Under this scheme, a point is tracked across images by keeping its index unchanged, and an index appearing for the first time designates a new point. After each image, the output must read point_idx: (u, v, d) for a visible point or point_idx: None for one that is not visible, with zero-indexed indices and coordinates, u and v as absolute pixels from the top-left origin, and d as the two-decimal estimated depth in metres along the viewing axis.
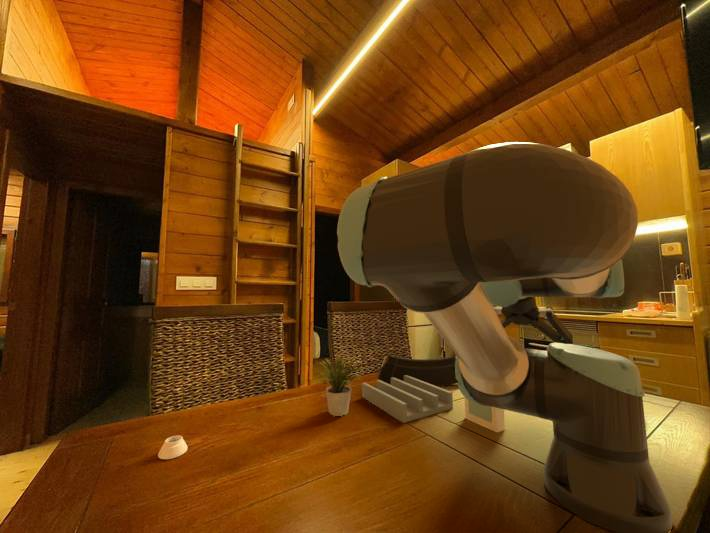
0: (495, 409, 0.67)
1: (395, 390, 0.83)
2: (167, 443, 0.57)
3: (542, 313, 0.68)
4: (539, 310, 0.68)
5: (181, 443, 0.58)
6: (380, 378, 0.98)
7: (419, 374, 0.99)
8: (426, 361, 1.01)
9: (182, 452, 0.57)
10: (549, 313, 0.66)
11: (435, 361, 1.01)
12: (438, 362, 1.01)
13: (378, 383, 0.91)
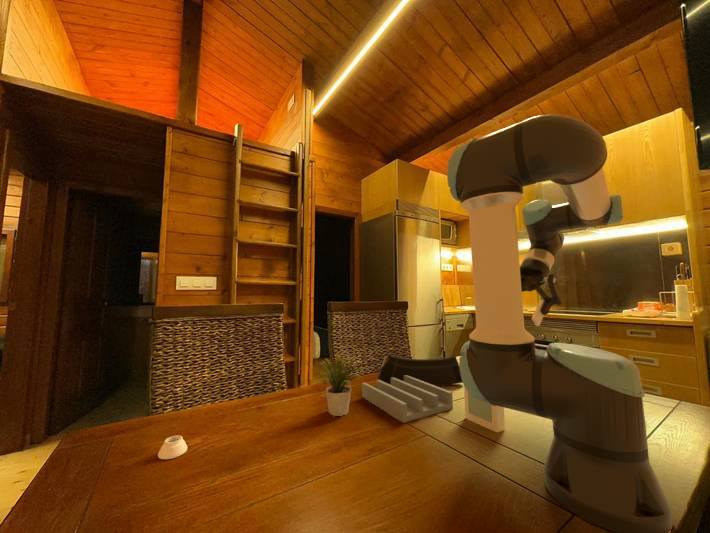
0: (495, 409, 0.67)
1: (395, 390, 0.83)
2: (167, 443, 0.57)
3: (546, 279, 0.79)
4: None
5: (181, 443, 0.58)
6: (380, 378, 0.98)
7: (419, 374, 0.99)
8: (426, 361, 1.01)
9: (182, 452, 0.57)
10: (551, 274, 0.77)
11: (435, 361, 1.01)
12: (438, 362, 1.01)
13: (378, 383, 0.91)
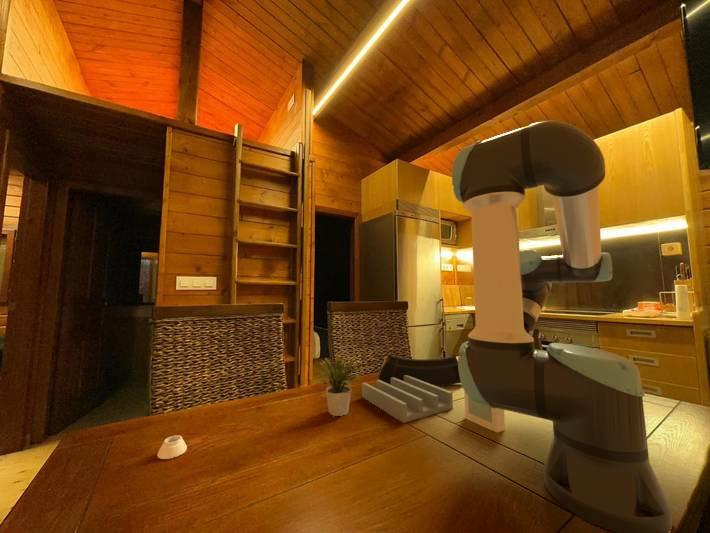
0: (495, 409, 0.67)
1: (395, 390, 0.83)
2: (166, 443, 0.57)
3: (531, 333, 0.77)
4: None
5: (180, 443, 0.58)
6: (381, 378, 0.98)
7: (419, 374, 0.99)
8: (427, 361, 1.01)
9: (181, 452, 0.57)
10: (536, 329, 0.76)
11: (436, 361, 1.01)
12: (439, 362, 1.01)
13: (378, 383, 0.91)
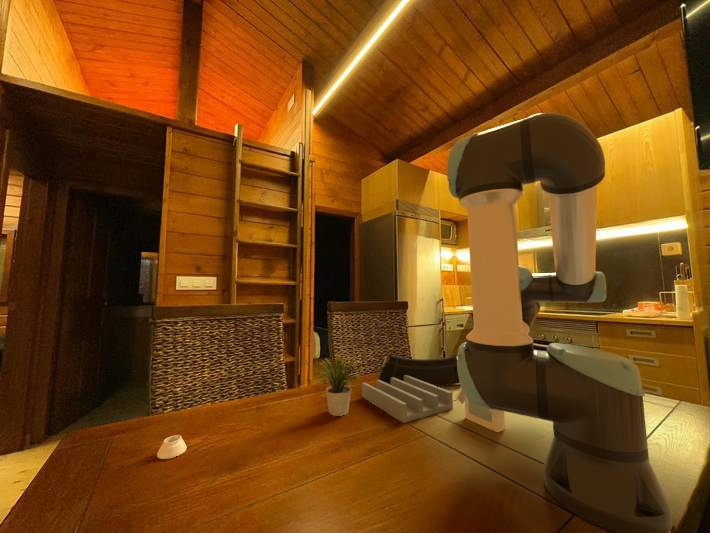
0: None
1: (395, 390, 0.83)
2: (166, 443, 0.57)
3: None
4: None
5: (180, 443, 0.58)
6: (381, 378, 0.99)
7: (420, 374, 0.99)
8: (427, 361, 1.01)
9: (181, 452, 0.57)
10: None
11: (436, 361, 1.01)
12: (439, 362, 1.01)
13: (378, 383, 0.91)
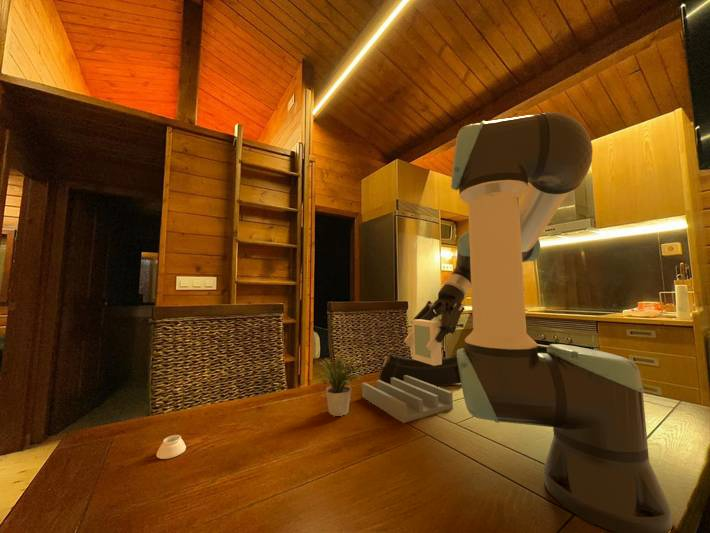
0: None
1: (395, 390, 0.83)
2: (165, 443, 0.57)
3: (455, 305, 0.85)
4: None
5: (179, 443, 0.58)
6: (381, 378, 0.99)
7: (420, 374, 0.99)
8: None
9: (180, 452, 0.57)
10: (459, 302, 0.83)
11: None
12: None
13: (378, 383, 0.91)
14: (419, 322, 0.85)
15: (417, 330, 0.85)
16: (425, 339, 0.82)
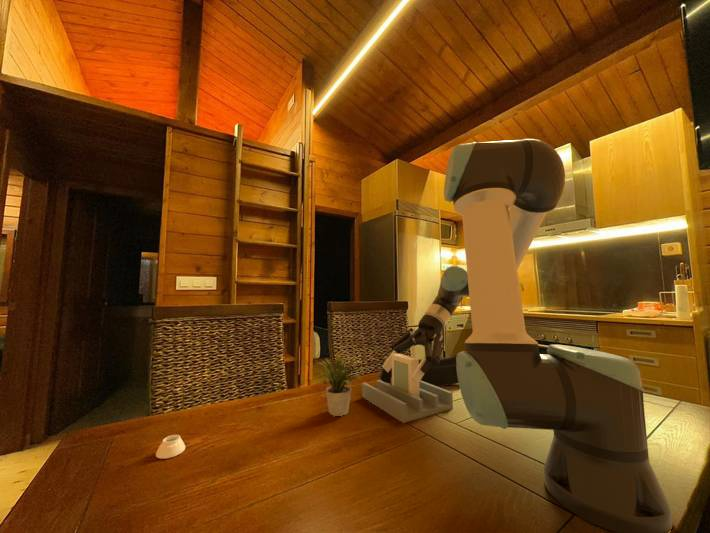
0: (410, 384, 0.81)
1: (395, 390, 0.83)
2: (165, 442, 0.57)
3: (435, 336, 0.86)
4: None
5: (179, 442, 0.58)
6: (382, 378, 0.99)
7: None
8: None
9: (180, 451, 0.57)
10: (439, 333, 0.85)
11: None
12: (440, 362, 1.01)
13: (378, 383, 0.91)
14: (398, 358, 0.86)
15: (396, 366, 0.86)
16: (404, 376, 0.83)
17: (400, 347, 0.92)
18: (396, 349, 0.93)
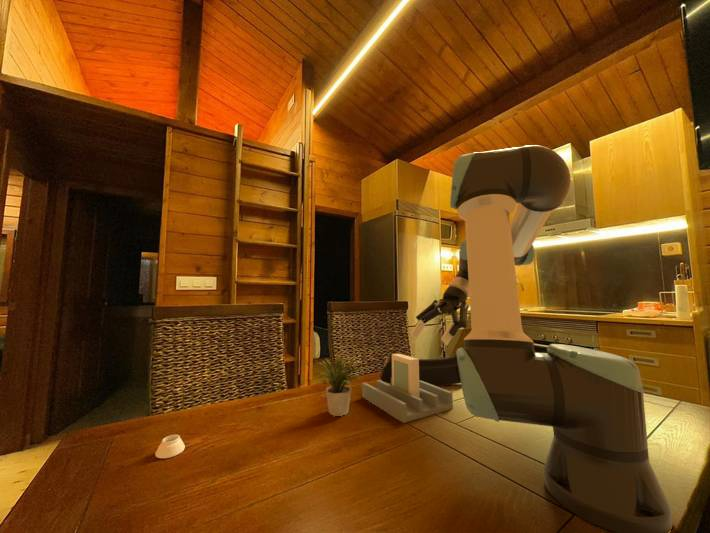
0: (410, 384, 0.81)
1: (395, 390, 0.83)
2: (164, 442, 0.57)
3: (460, 304, 0.93)
4: None
5: (178, 442, 0.58)
6: (382, 378, 0.99)
7: (421, 374, 1.00)
8: (428, 361, 1.01)
9: (179, 451, 0.57)
10: (464, 301, 0.92)
11: (437, 361, 1.01)
12: (440, 362, 1.01)
13: (378, 383, 0.91)
14: (398, 358, 0.86)
15: (396, 366, 0.86)
16: (404, 376, 0.83)
17: (426, 317, 1.00)
18: (422, 318, 1.00)
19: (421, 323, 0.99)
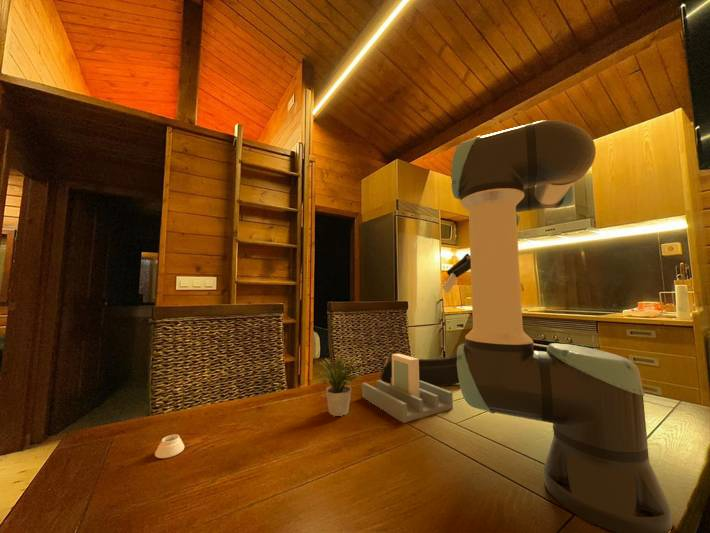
0: (410, 384, 0.81)
1: (395, 390, 0.83)
2: (164, 442, 0.57)
3: None
4: None
5: (178, 442, 0.58)
6: (383, 378, 0.99)
7: (421, 374, 1.00)
8: (429, 361, 1.01)
9: (179, 451, 0.57)
10: None
11: (438, 361, 1.01)
12: (441, 362, 1.01)
13: (378, 383, 0.91)
14: (398, 358, 0.86)
15: (396, 366, 0.86)
16: (404, 376, 0.83)
17: (458, 270, 0.93)
18: (454, 272, 0.93)
19: (453, 277, 0.92)
